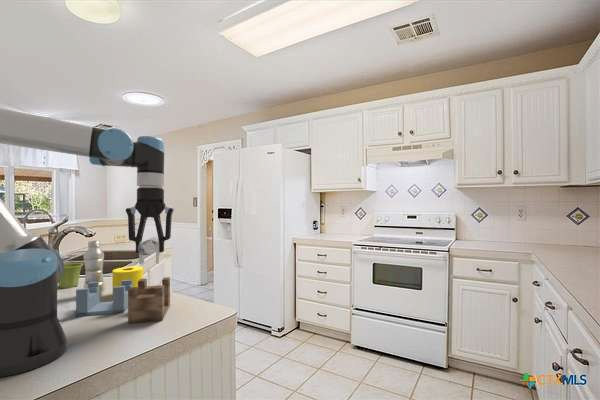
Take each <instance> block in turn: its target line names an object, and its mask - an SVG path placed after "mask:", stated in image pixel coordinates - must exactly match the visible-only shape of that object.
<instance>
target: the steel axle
mask: <svg viewBox="0 0 600 400" xmlns="http://www.w3.org/2000/svg"><path fill="white" fill-rule="evenodd" d="M158 241H159V239H158V236H156V237H155V236H154V237H151V238H149V239H147V240H145V241H141V242H142V243H140V244H139V246H138V252H139V253H140V254H141V255H144V257H145V256H148V255H150V254H152V253H153V252H156V242H158ZM139 253H138V254H139Z"/></svg>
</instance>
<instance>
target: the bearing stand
mask: <svg viewBox="0 0 600 400" xmlns="http://www.w3.org/2000/svg"><path fill="white" fill-rule="evenodd" d="M147 283H148V279H147V278H143V279H140V280H139V281H138V287H131V288H130V289H129V290H128V308H127V325H129V324H139V323H141V324H142V323H149V322H151V323H153V322H160V321H163V319H165V316H166V314H167V313H168V311H169V309H170V306H171V276H170V277H169V276H168V277H163V278H162V279H161V284H160V285H159V284H158V285H148V284H147Z"/></svg>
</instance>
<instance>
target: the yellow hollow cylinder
mask: <svg viewBox="0 0 600 400" xmlns="http://www.w3.org/2000/svg"><path fill="white" fill-rule="evenodd" d="M140 279H144V267H143V266H140V265H139V266H138V265H137V266H135V265H133V266H123V267H118V268H115V269H113V270H112V288H113V287H118V286H122V280H132V287H138V281H139V280H140Z"/></svg>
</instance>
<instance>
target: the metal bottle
mask: <svg viewBox="0 0 600 400" xmlns="http://www.w3.org/2000/svg"><path fill="white" fill-rule="evenodd" d="M87 247H88V249H86V251H85V252H84V254H83V256H82V257H83V262H84V263H83V265H84V270H85V275H84V276H85V277H84V284H83V289H86V288H88V283H89V282H99V295H101V294H103V293H104V291H105V282H104V275H103V274H104V273H103V272H104V271H103V270H104V269H103V267H104V260H105V253H104V251H103V249H102V248H101V241H100V240H89V241H88V242H87Z"/></svg>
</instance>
